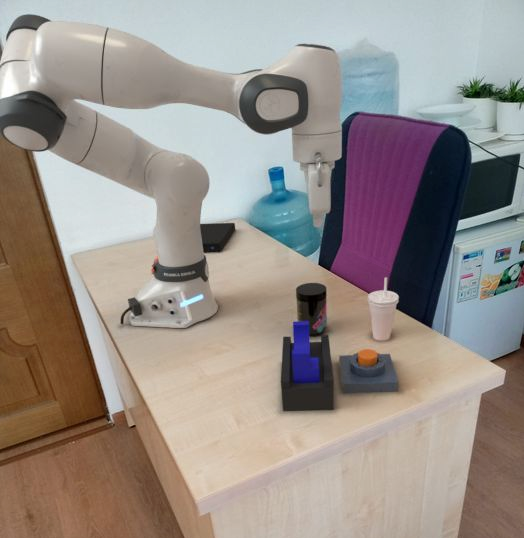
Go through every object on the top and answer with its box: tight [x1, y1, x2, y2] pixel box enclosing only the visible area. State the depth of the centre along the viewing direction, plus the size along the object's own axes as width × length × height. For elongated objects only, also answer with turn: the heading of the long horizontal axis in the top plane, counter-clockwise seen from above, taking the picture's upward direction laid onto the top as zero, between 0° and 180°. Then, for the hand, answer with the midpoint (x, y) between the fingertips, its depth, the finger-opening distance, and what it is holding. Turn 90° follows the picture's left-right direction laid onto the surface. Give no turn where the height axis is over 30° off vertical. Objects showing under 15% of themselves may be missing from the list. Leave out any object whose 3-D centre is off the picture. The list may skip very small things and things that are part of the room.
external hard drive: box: [200, 222, 236, 253], centre depth 177 cm, size 14×23×3 cm, turn 171°
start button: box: [357, 348, 378, 366], centre depth 94 cm, size 4×4×2 cm
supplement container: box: [295, 282, 328, 338], centre depth 112 cm, size 7×7×10 cm
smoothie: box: [367, 276, 400, 341], centre depth 106 cm, size 6×6×14 cm
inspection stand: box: [280, 334, 335, 412], centre depth 94 cm, size 9×16×6 cm, turn 177°
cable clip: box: [292, 320, 319, 383], centre depth 91 cm, size 12×4×6 cm, turn 176°
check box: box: [338, 352, 399, 394], centre depth 96 cm, size 10×10×4 cm
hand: (317, 225), depth 97 cm, fingers closed
